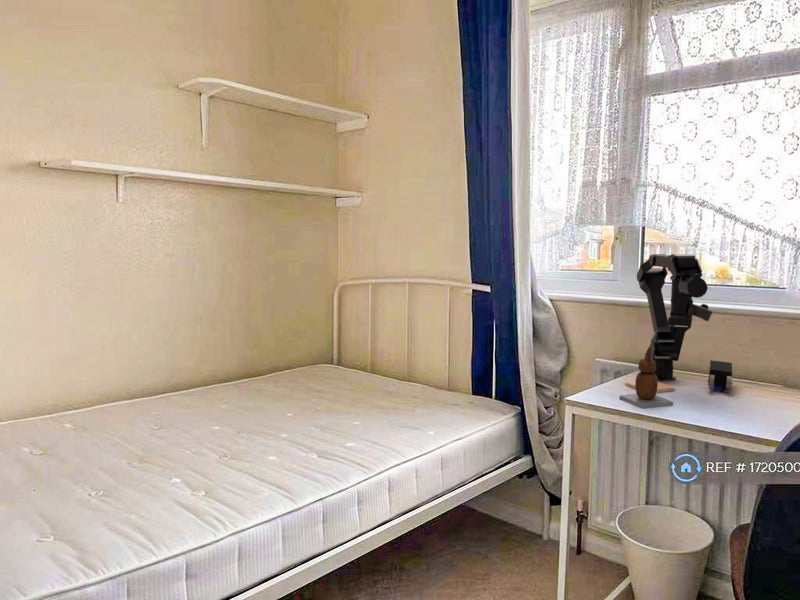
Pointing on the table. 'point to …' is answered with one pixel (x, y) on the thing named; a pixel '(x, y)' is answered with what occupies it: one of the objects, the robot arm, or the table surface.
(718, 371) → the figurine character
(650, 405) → the slate tile
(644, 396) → the wooden figurine
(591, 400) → the table surface
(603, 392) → the table surface
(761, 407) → the table surface
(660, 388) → the terracotta tile
